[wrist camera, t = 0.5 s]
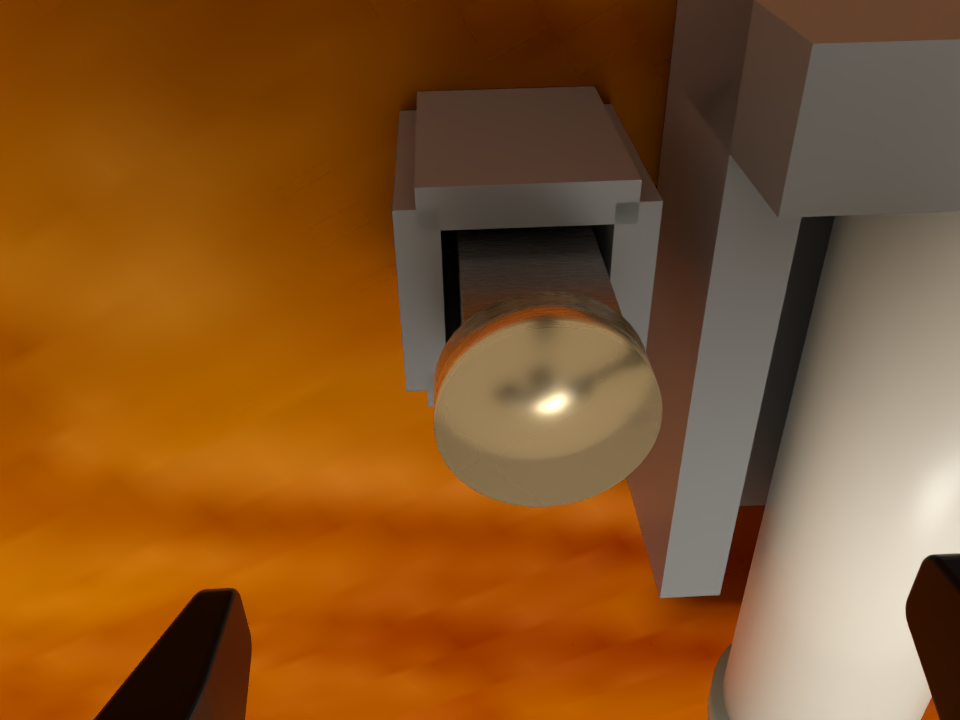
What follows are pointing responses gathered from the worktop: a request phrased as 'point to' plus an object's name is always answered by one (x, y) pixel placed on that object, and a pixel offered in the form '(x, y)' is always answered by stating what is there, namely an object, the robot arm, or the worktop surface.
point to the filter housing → (697, 220)
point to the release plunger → (541, 371)
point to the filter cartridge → (856, 484)
